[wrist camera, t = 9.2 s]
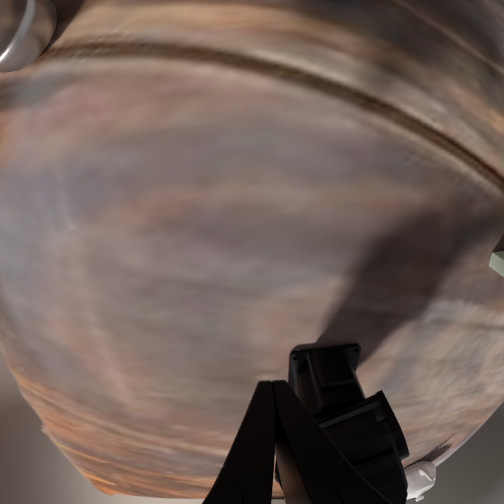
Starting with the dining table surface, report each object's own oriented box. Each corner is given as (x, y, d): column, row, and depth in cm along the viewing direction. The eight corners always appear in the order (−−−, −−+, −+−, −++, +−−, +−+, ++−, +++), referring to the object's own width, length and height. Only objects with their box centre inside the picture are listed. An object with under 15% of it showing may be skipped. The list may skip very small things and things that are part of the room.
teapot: (400, 462, 40) (412, 498, 31) (445, 443, 40) (459, 474, 31) (378, 488, 48) (386, 516, 39) (417, 473, 48) (427, 499, 38)
